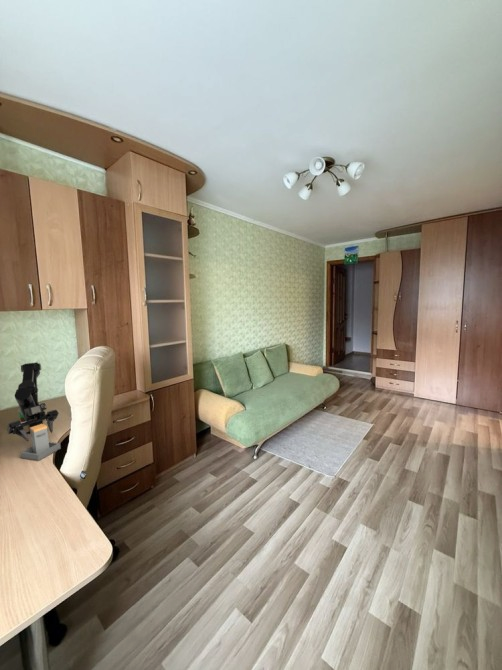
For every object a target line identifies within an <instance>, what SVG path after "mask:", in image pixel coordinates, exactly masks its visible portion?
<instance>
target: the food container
mask: <svg viewBox="0 0 502 670" xmlns="http://www.w3.org/2000/svg"><path fill="white" fill-rule="evenodd" d="M38 404H39V405H40V404H41V403H40V402H39V401H38ZM17 413H18V416H19V420H20V422H24V417H23V416H22V415H23V414H22V412H21V409H20V408H18V409H17Z"/></svg>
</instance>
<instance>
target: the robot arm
mask: <svg viewBox="0 0 502 670" xmlns="http://www.w3.org/2000/svg"><path fill="white" fill-rule="evenodd" d="M41 371H42V365H41V363H39V361H37V362H30V363H28V362H27V363H24V364H20V372H21V373H22V382H20V383H19V384H18V385H17V389H16V390H15V394H14V398H15V401H16V403H17V404H18V407H19V409H21V412H22V414H23V415H22V416H23V417H24V422H21V419H18V420H15V421H12V422H9V423H8V425H7V428H6V431H7V434H8V435H10V434H11V435H17V436H19V437H21V438H22V439H24V440H25V442H29V441H30V440H29V439H30V438H29V437H28V435H31V434H30V427H34V426H37V425H40V424H44V422H43V421H45V420H46V424H47V425H46V426H47V428H48V429H49V431H50V432H49V433H51V434H52V433H53V431H54V427H53V425H54V422H55V420H56V419H57V418H58V416H59V414H60V413H59V412H58V410H57V409H53V410H49V411H47V412H46V411H45V410H47V405H46V403H45V402H43V403H40V405H39V404H38V402H39V395H38V394H39V388H38V378H39V376H40V374H41ZM25 426H28V431H25V429H24V427H25Z"/></svg>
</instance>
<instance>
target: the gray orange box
mask: <svg viewBox="0 0 502 670" xmlns="http://www.w3.org/2000/svg"><path fill="white" fill-rule="evenodd" d="M29 435H30V441H31V447H32V450H33V453H35V454H40V453H41V452H43V451H45V450H47V449H49V442H50V441H49V434H48V425H46V424H44V423H43V424H40V425H37V426H34V427H30V434H29Z"/></svg>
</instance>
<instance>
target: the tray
mask: <svg viewBox="0 0 502 670" xmlns="http://www.w3.org/2000/svg"><path fill="white" fill-rule="evenodd" d="M61 447H62V446H61V443H60V442H54V441H53V442H52V441H49V449H47V450H45V451H43V452H41V453H40V454H35V453H33V450H32V446H30V447H28V448H26V449H24V450H22V451H20V453H19V456H20V459H21V460H22V459H23V460H29V461H36V462H40V461H42V460H43V459H46V458H47V457H48V456H50V455H52V454H54V453H56V452H57V451H59V450H61V449H62V448H61Z"/></svg>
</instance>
